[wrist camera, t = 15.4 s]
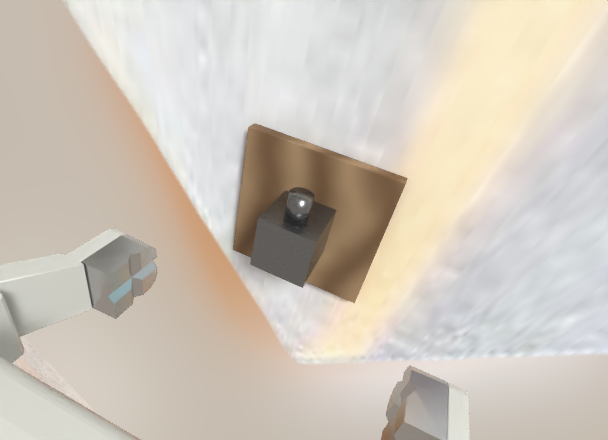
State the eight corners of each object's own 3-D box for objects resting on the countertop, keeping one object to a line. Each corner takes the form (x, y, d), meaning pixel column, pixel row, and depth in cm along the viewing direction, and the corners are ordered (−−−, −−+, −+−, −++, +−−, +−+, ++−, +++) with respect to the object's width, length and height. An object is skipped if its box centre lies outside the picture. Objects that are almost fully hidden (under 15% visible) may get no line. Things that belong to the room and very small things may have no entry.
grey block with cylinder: (276, 232, 45) (250, 264, 40) (290, 167, 40) (262, 193, 34) (323, 252, 44) (302, 287, 38) (343, 187, 39) (323, 217, 33)
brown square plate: (238, 243, 51) (215, 268, 46) (255, 123, 41) (226, 138, 36) (357, 295, 47) (345, 328, 43) (407, 178, 37) (398, 203, 32)
